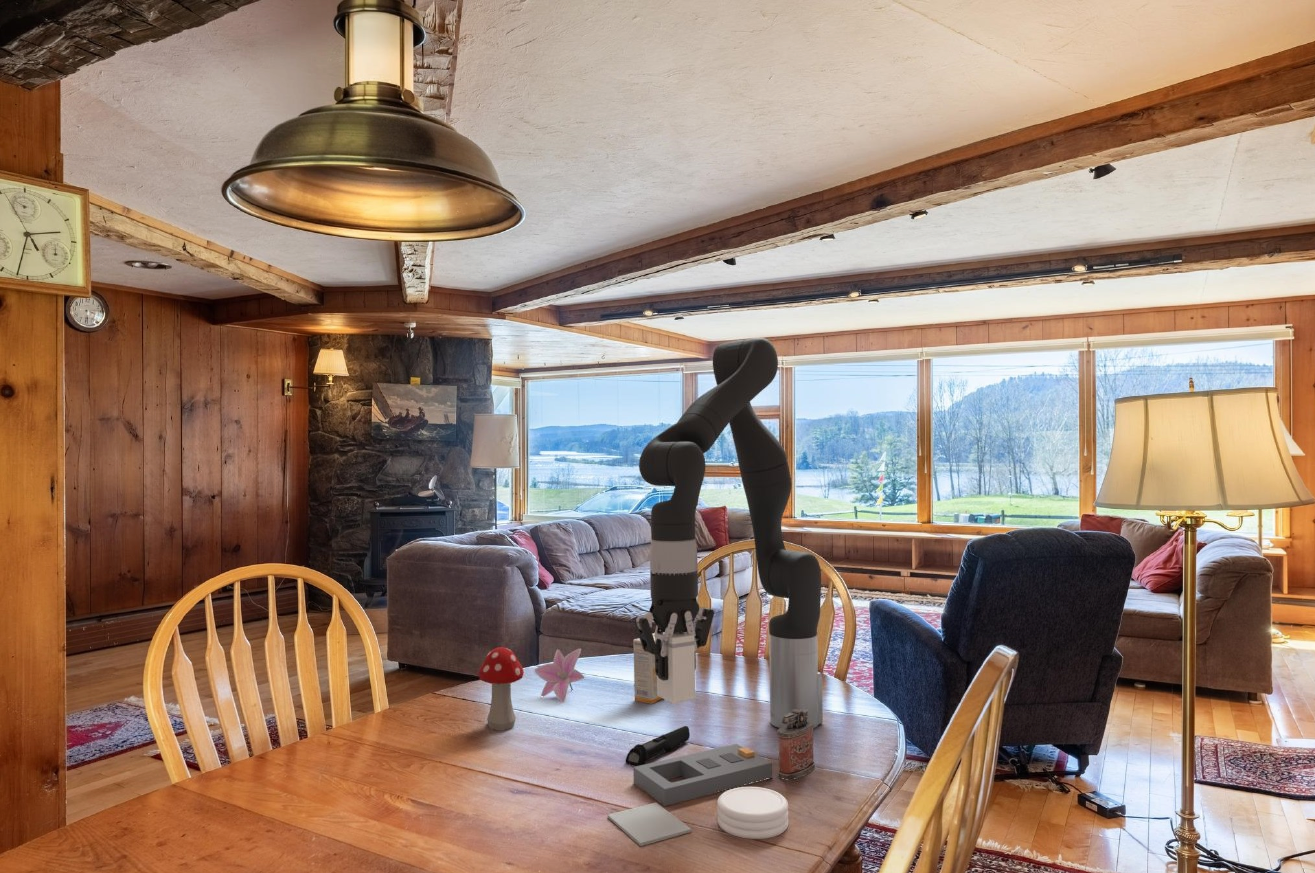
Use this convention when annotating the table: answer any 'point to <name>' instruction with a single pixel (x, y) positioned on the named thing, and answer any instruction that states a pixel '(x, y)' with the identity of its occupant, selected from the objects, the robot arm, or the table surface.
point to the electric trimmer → (657, 746)
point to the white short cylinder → (752, 812)
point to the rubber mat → (649, 824)
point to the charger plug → (679, 670)
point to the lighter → (796, 745)
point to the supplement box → (644, 674)
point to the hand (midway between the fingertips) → (675, 676)
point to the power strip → (701, 773)
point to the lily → (560, 674)
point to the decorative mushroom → (501, 685)
